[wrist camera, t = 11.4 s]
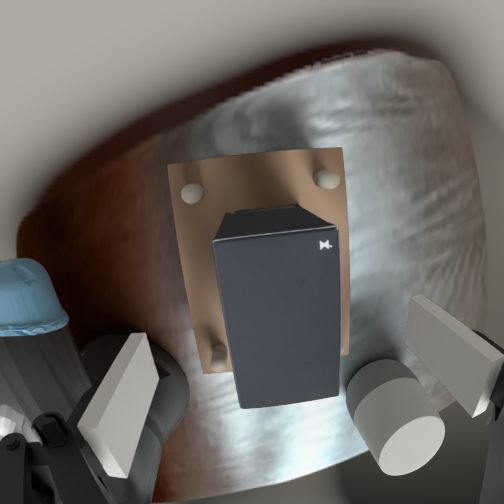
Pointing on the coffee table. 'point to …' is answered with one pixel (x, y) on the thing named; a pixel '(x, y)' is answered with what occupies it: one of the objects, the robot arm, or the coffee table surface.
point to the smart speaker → (394, 416)
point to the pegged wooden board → (249, 197)
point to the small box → (280, 304)
